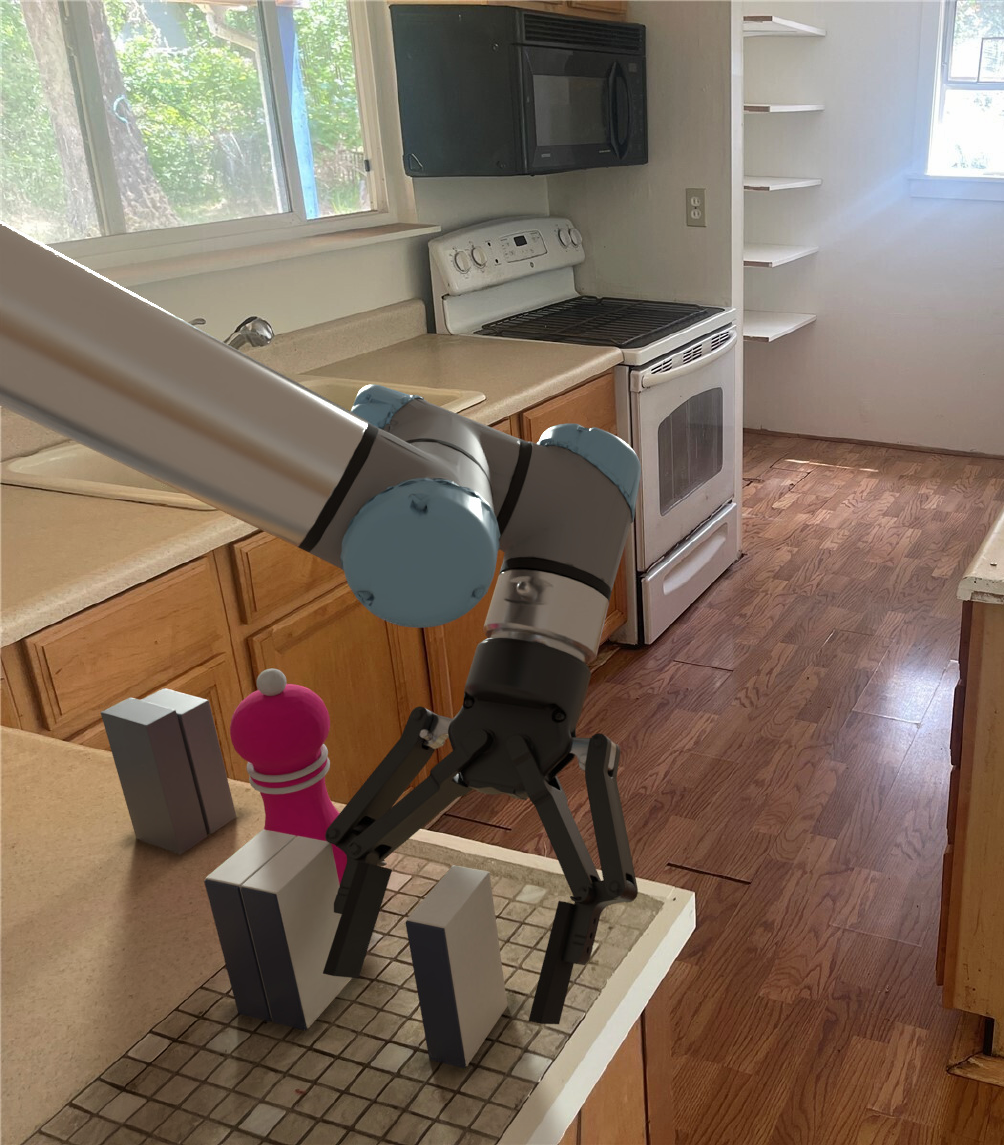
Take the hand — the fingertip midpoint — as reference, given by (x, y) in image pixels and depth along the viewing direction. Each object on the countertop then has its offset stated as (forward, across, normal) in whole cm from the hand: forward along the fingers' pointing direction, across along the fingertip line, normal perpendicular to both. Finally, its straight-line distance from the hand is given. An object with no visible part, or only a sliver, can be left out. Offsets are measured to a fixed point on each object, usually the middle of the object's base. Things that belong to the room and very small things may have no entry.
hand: (439, 999), depth 62 cm
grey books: (-7, -33, +14) cm, 36 cm away
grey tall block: (+2, -12, +5) cm, 14 cm away
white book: (+2, 0, +6) cm, 6 cm away
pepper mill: (-3, -16, +10) cm, 19 cm away
